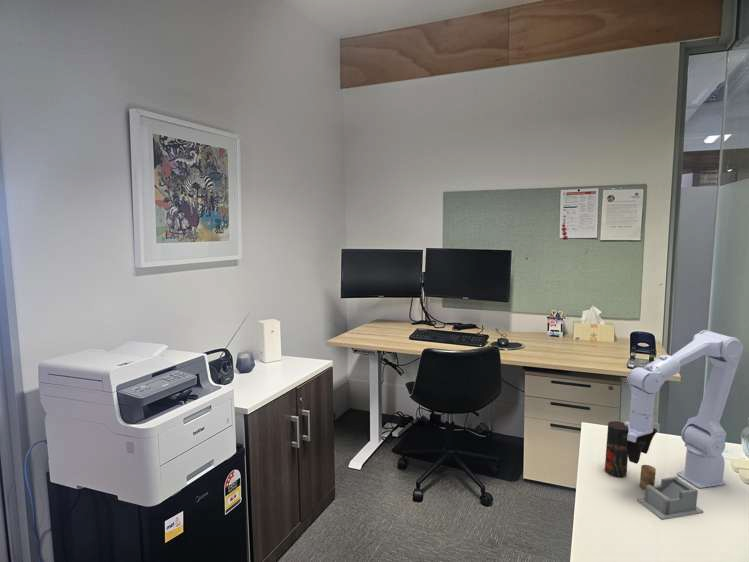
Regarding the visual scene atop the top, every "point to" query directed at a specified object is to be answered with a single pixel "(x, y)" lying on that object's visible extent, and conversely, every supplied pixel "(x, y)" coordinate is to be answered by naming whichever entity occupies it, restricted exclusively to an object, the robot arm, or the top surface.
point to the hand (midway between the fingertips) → (638, 457)
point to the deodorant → (616, 450)
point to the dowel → (647, 476)
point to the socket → (671, 499)
